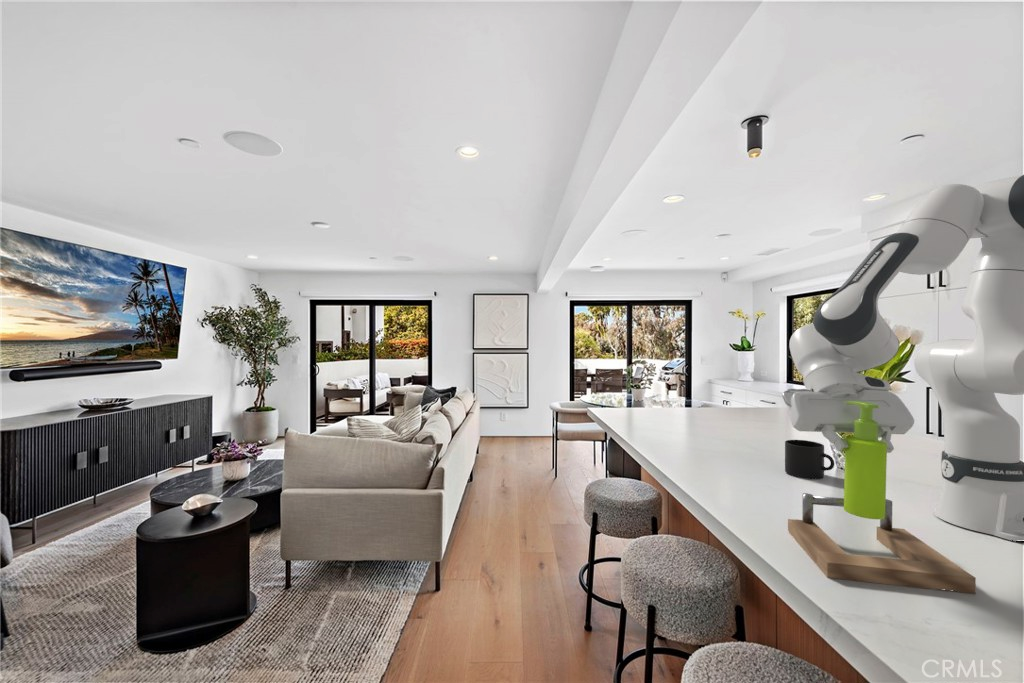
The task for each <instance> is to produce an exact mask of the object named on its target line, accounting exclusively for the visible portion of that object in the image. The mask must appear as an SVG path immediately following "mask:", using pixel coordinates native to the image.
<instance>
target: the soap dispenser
mask: <svg viewBox="0 0 1024 683" xmlns="http://www.w3.org/2000/svg"><path fill="white" fill-rule="evenodd" d="M845 404H846V405H857V406H861V414H860V419H858V420H855V422H854V433H853V436H850V437H845V439H847V441H848V444H849V445H850V448H849V449H848V450H847V451H844V487H843V498H844V507H843V510H844V511H845V512H846V513H848V514H851V515H853V516H855V517H859V518H864V519H869V520H880V519H884V518H885V502H886V499H887V498H886V496H887V462H888V459H887V457H888V454H887V443H885V442H883V441H880V440H881V439H880V440H879V437H878V423H877V422H875V421H874V420H872V413H873V408H878V405H876V404H873V403H869V402H861V401H849V402H845Z"/></svg>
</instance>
